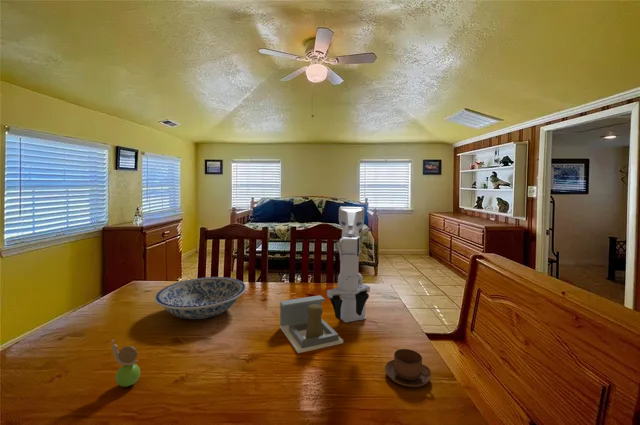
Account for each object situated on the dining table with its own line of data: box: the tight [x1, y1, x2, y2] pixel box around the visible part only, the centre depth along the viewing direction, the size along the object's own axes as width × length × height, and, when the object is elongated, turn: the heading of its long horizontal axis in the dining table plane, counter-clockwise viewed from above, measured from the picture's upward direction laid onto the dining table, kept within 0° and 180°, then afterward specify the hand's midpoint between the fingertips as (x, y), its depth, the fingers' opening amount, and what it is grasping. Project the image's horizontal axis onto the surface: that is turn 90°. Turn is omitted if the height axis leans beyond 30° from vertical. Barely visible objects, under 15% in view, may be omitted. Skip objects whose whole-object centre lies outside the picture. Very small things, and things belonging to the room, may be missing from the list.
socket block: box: [279, 295, 344, 354], centre depth 108 cm, size 16×19×10 cm
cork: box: [306, 304, 323, 339], centre depth 104 cm, size 6×6×11 cm
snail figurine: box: [110, 339, 141, 388], centre depth 80 cm, size 5×6×12 cm
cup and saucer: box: [384, 348, 432, 388], centre depth 85 cm, size 12×12×6 cm
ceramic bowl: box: [154, 276, 247, 320], centre depth 126 cm, size 34×34×10 cm
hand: (348, 316), depth 99 cm, fingers open, 7 cm apart
